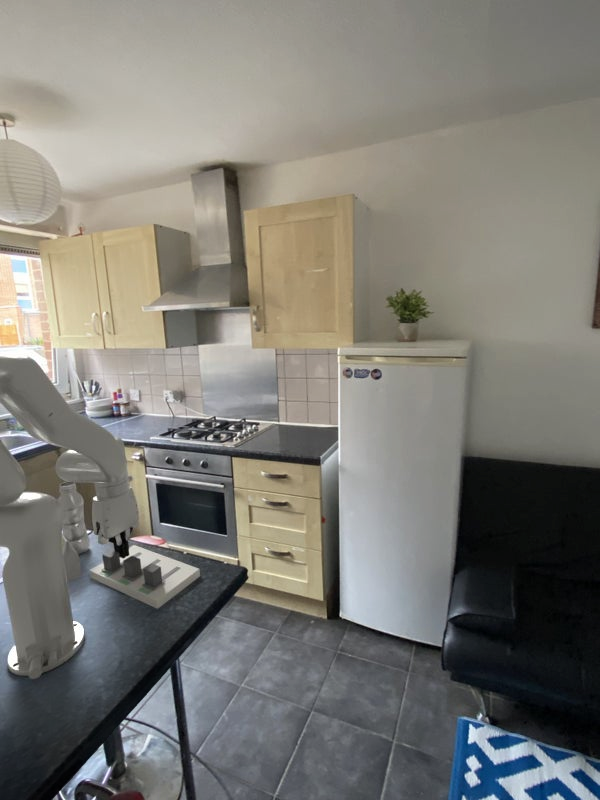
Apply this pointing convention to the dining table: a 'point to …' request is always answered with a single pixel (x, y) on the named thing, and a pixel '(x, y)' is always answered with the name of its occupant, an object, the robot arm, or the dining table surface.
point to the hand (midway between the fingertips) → (122, 555)
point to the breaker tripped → (111, 562)
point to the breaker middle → (132, 568)
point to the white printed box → (70, 560)
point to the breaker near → (152, 576)
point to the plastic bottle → (73, 517)
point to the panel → (171, 570)
